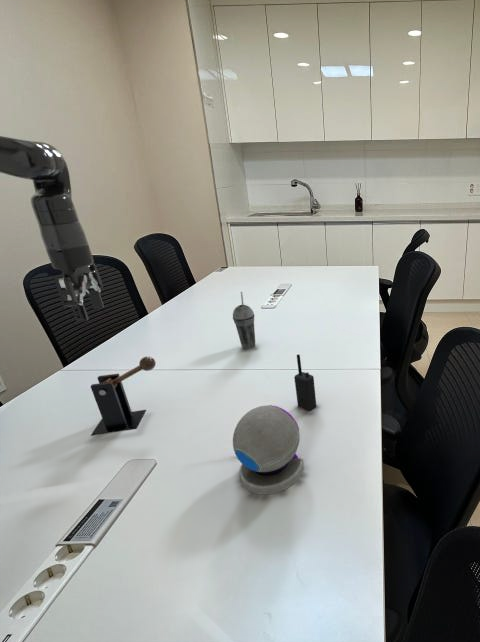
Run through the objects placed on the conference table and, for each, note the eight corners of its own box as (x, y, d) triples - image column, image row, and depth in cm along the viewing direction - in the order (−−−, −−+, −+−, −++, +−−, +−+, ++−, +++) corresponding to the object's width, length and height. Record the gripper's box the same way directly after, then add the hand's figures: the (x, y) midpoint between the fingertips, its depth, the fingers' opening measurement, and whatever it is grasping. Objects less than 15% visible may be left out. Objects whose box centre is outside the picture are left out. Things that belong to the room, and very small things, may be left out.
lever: (160, 362, 95) (150, 351, 93) (156, 368, 92) (146, 357, 90) (110, 390, 95) (99, 380, 93) (104, 397, 92) (93, 387, 90)
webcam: (315, 462, 83) (309, 404, 77) (273, 504, 73) (262, 441, 67) (270, 443, 89) (261, 387, 83) (226, 479, 79) (212, 419, 73)
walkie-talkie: (317, 405, 103) (312, 355, 97) (308, 412, 100) (303, 361, 94) (304, 400, 105) (298, 351, 99) (295, 406, 103) (289, 356, 97)
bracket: (147, 413, 102) (133, 369, 96) (138, 432, 94) (122, 385, 89) (105, 419, 100) (88, 374, 94) (92, 438, 92) (73, 391, 87)
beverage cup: (234, 350, 135) (223, 295, 127) (245, 341, 142) (235, 289, 133) (252, 352, 134) (243, 296, 125) (263, 343, 140) (254, 290, 132)
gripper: (63, 240, 89) (87, 306, 96) (27, 252, 76) (57, 328, 83) (99, 237, 90) (120, 303, 97) (70, 249, 78) (96, 324, 84)
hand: (91, 314), depth 90 cm, fingers open, 8 cm apart
